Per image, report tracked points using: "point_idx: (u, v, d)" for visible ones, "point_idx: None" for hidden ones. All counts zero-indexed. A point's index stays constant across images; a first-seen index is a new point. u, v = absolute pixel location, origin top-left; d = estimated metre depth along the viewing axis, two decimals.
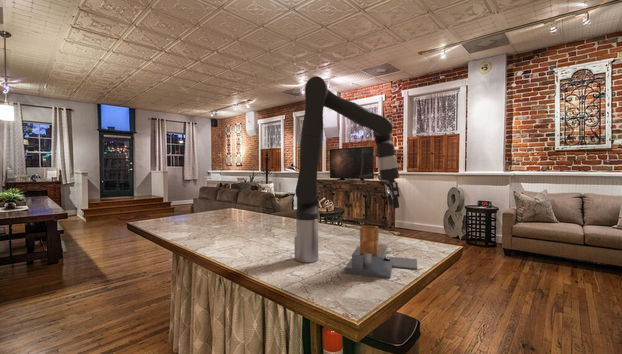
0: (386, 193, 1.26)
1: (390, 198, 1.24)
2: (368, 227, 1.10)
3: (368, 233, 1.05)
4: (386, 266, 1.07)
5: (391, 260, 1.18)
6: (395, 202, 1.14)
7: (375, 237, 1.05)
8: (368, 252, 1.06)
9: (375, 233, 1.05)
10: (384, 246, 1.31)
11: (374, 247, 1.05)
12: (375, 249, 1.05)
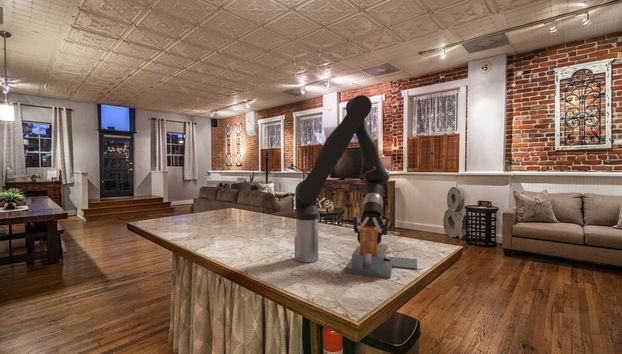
0: (356, 228, 1.11)
1: None
2: (368, 227, 1.10)
3: (368, 233, 1.05)
4: (386, 266, 1.07)
5: (391, 260, 1.18)
6: (381, 237, 1.07)
7: (375, 237, 1.05)
8: (368, 252, 1.06)
9: (375, 233, 1.05)
10: (384, 246, 1.31)
11: (374, 247, 1.05)
12: (375, 249, 1.05)
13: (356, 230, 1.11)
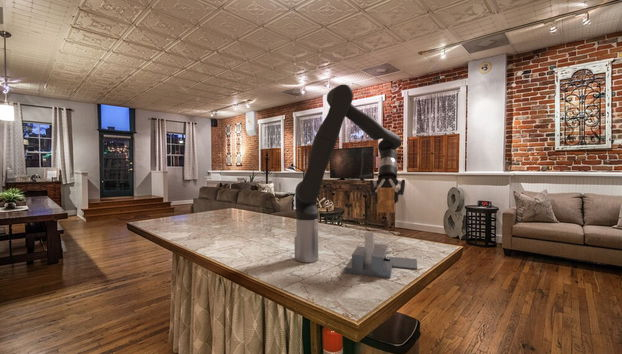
0: (373, 189, 1.15)
1: None
2: None
3: (385, 192, 1.09)
4: (386, 266, 1.07)
5: (391, 260, 1.18)
6: None
7: (392, 196, 1.08)
8: (386, 211, 1.09)
9: (392, 192, 1.08)
10: (384, 246, 1.31)
11: (392, 205, 1.08)
12: (393, 207, 1.08)
13: (373, 191, 1.14)
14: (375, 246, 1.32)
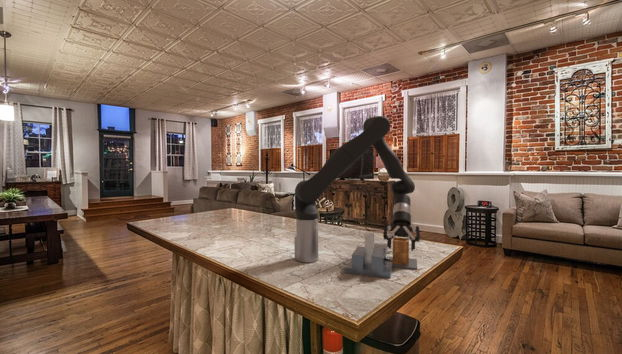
0: (386, 235, 1.19)
1: None
2: (399, 239, 1.18)
3: (400, 245, 1.13)
4: (386, 266, 1.07)
5: (391, 260, 1.18)
6: None
7: (407, 249, 1.13)
8: (400, 263, 1.13)
9: (407, 245, 1.13)
10: (384, 246, 1.31)
11: (407, 258, 1.13)
12: (407, 260, 1.13)
13: (385, 237, 1.19)
14: (375, 246, 1.32)
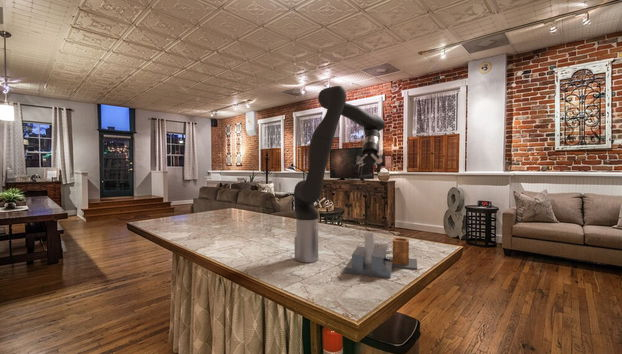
0: (355, 162, 1.29)
1: (359, 167, 1.28)
2: (399, 239, 1.18)
3: (400, 245, 1.13)
4: (386, 266, 1.07)
5: (391, 260, 1.18)
6: (380, 167, 1.24)
7: (407, 249, 1.13)
8: (400, 263, 1.13)
9: (407, 245, 1.13)
10: (385, 246, 1.31)
11: (407, 258, 1.13)
12: (407, 260, 1.13)
13: (354, 163, 1.29)
14: (375, 246, 1.32)
